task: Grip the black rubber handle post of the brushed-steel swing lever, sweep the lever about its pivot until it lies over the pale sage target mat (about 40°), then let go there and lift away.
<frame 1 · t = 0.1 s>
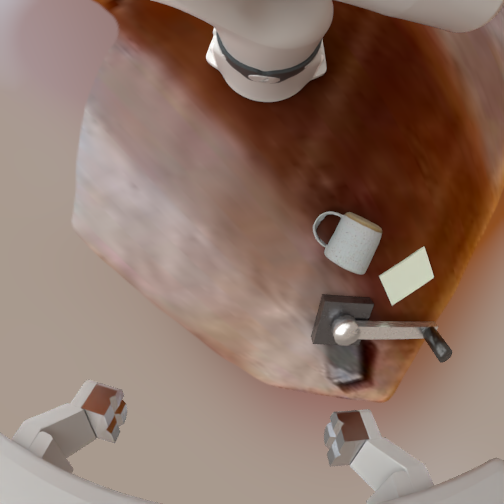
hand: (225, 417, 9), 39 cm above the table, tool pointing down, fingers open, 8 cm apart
ceramic mug: (340, 233, 47), on the table
lever base: (340, 317, 53), on the table
lever arm: (395, 342, 46), point 8 cm above the table, hinge at 0.0°
target mat: (408, 276, 50), on the table
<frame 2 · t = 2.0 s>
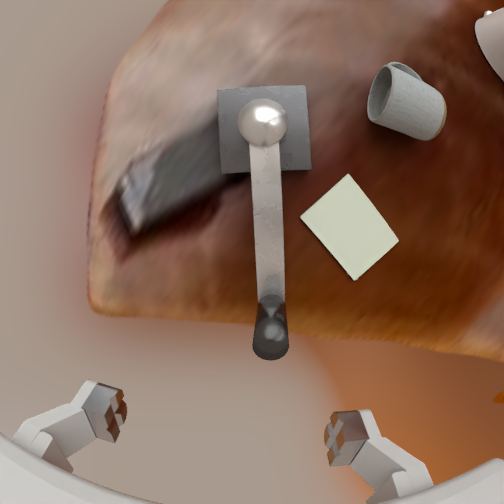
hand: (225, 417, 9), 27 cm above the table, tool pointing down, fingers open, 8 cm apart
ceramic mug: (393, 101, 29), on the table
lever base: (264, 130, 32), on the table
lever arm: (267, 220, 26), point 8 cm above the table, hinge at 0.0°
target mat: (352, 228, 34), on the table
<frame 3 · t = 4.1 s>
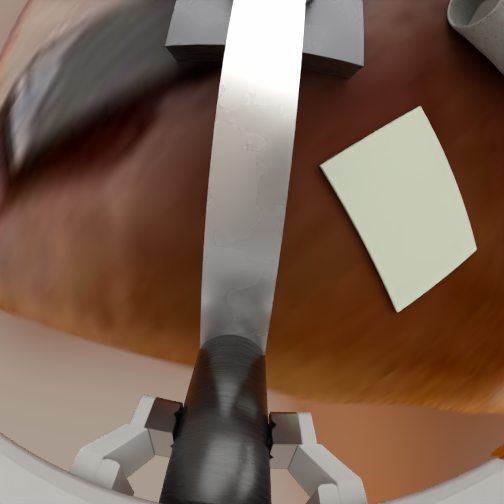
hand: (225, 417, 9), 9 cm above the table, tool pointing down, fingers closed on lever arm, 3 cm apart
ceramic mug: (478, 30, 11), on the table
lever base: (271, 1, 12), on the table
lever arm: (254, 112, 7), point 8 cm above the table, hinge at 0.0°, touching gripper
target mat: (414, 212, 15), on the table
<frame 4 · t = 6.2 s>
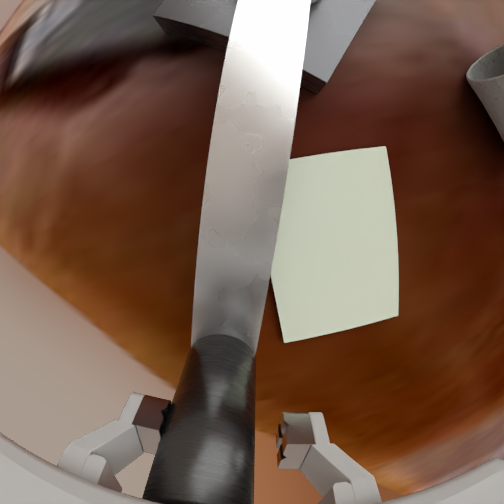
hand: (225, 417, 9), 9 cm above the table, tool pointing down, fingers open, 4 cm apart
ceramic mug: (499, 98, 13), on the table
lever base: (277, 1, 12), on the table
lever arm: (251, 113, 7), point 8 cm above the table, hinge at 19.8°, touching gripper
target mat: (335, 249, 16), on the table
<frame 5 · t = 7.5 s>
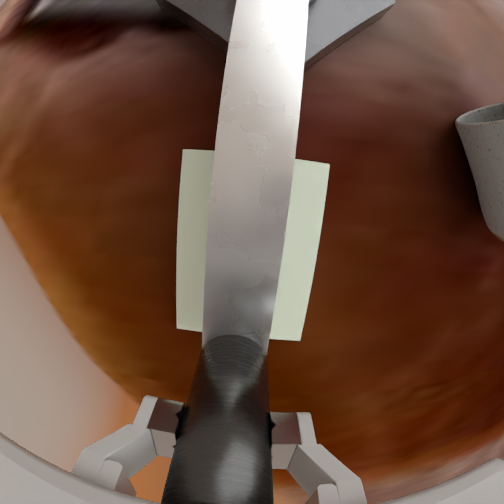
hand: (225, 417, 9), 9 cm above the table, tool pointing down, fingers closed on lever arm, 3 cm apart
ceramic mug: (490, 155, 14), on the table
lever base: (273, 1, 12), on the table
lever arm: (258, 112, 7), point 8 cm above the table, hinge at 39.7°, touching gripper
target mat: (246, 252, 16), on the table
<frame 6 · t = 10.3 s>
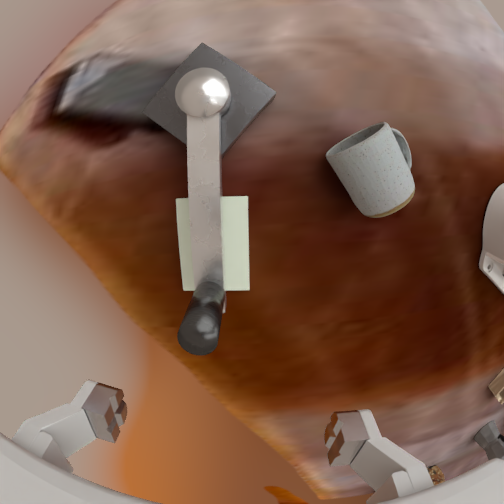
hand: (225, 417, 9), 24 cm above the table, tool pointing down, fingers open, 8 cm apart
ceramic mug: (367, 161, 30), on the table
lever base: (209, 104, 28), on the table
lever arm: (198, 197, 23), point 8 cm above the table, hinge at 39.8°
coffeepot: (484, 428, 51), on the table
target mat: (213, 245, 32), on the table
bread: (409, 477, 55), on the table
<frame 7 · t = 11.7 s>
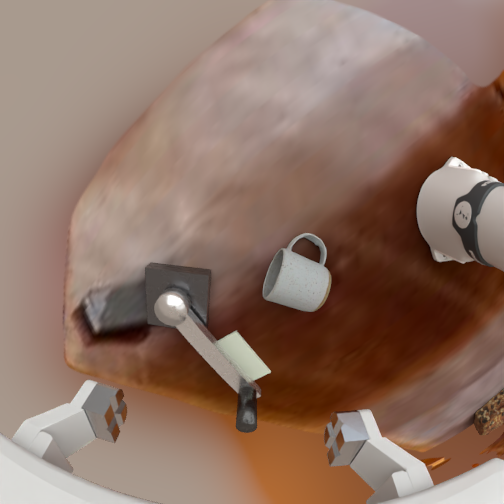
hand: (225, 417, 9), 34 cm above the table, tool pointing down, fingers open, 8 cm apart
ceramic mug: (295, 264, 44), on the table
lever base: (179, 294, 45), on the table
lever arm: (208, 365, 40), point 8 cm above the table, hinge at 39.8°
target mat: (235, 361, 49), on the table
bread: (492, 402, 58), on the table
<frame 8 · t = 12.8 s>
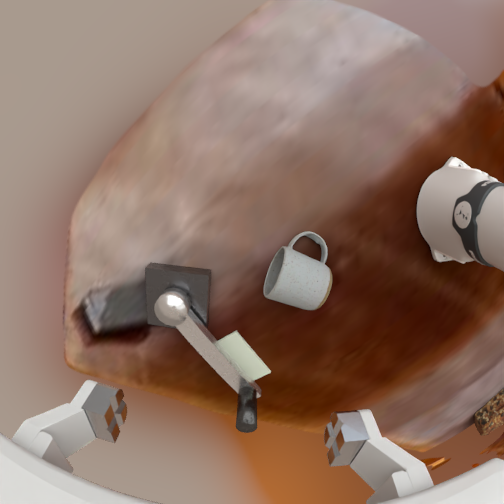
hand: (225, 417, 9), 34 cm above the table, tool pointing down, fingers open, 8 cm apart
ceramic mug: (296, 262, 44), on the table
lever base: (179, 294, 45), on the table
lever arm: (208, 365, 40), point 8 cm above the table, hinge at 39.8°
target mat: (236, 361, 49), on the table
bread: (492, 402, 58), on the table
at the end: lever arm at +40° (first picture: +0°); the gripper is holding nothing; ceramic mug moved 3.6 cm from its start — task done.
